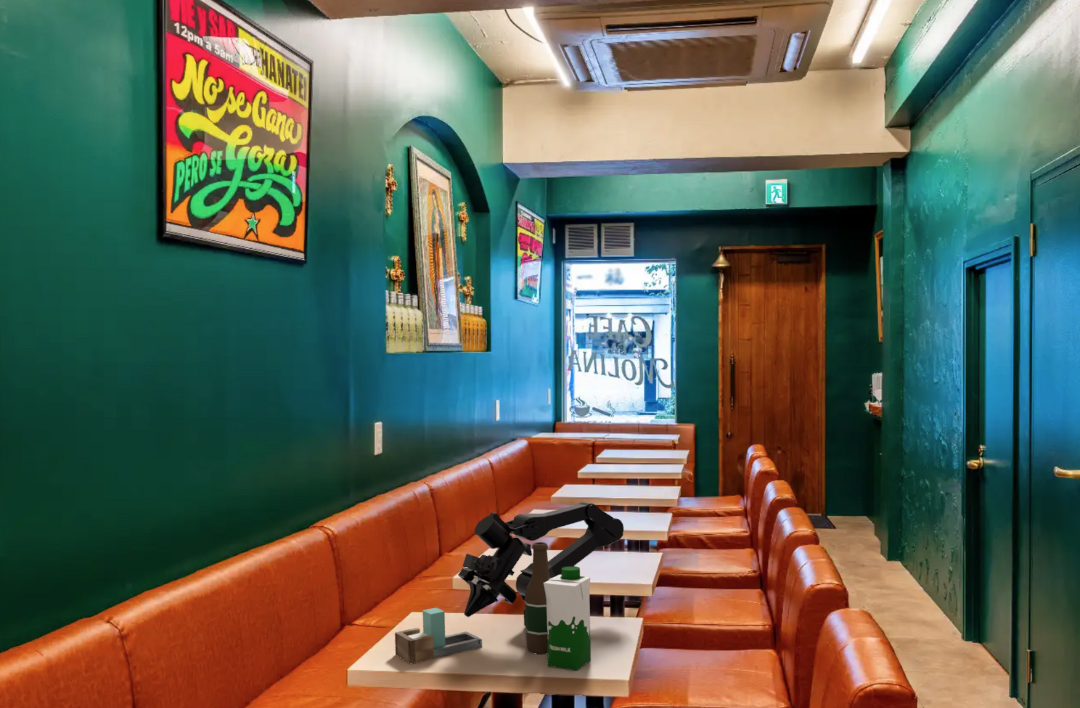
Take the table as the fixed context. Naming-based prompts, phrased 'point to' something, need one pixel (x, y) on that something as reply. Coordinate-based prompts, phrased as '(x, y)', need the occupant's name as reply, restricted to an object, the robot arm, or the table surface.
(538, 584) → the beer bottle
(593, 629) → the table surface
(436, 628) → the teal block
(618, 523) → the robot arm
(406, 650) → the socket
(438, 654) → the rails
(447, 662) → the table surface
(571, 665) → the milk carton
